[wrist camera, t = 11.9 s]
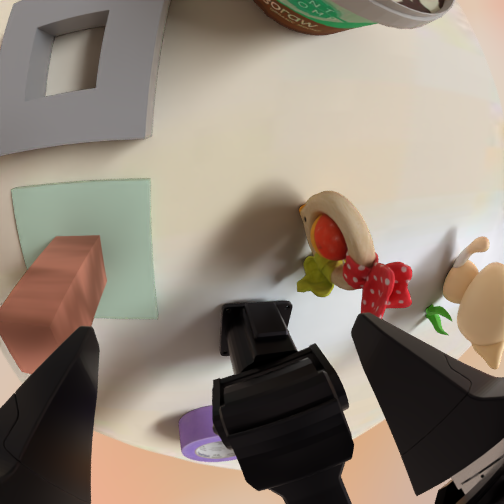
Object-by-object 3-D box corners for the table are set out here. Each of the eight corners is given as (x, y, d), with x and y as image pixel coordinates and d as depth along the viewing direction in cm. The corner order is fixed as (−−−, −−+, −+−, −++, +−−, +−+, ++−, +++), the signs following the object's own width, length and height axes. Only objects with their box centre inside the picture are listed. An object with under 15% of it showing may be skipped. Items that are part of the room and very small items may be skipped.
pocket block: (151, 136, 16) (145, 138, 14) (12, 150, 13) (-9, 158, 11) (174, -15, 11) (173, -33, 8) (30, 12, 8) (13, 3, 5)
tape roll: (232, 439, 39) (238, 463, 34) (167, 431, 34) (170, 459, 29) (271, 407, 35) (281, 435, 31) (197, 397, 30) (202, 430, 26)
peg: (107, 280, 20) (75, 380, 11) (65, 280, 19) (21, 372, 10) (99, 235, 18) (49, 326, 9) (55, 236, 17) (-8, 319, 8)
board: (158, 314, 23) (157, 319, 22) (44, 310, 20) (42, 314, 19) (150, 178, 18) (149, 180, 17) (14, 187, 15) (11, 189, 14)
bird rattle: (263, 215, 23) (302, 309, 24) (290, 207, 12) (351, 366, 13) (326, 188, 23) (361, 279, 24) (394, 164, 12) (435, 313, 13)
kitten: (439, 320, 36) (492, 379, 23) (408, 317, 32) (472, 392, 19) (484, 240, 30) (550, 291, 17) (461, 221, 27) (547, 281, 14)
